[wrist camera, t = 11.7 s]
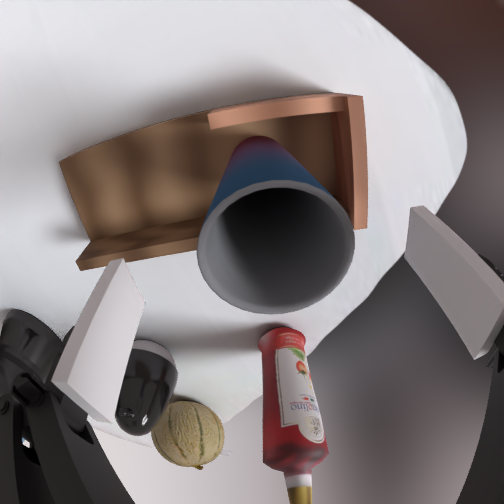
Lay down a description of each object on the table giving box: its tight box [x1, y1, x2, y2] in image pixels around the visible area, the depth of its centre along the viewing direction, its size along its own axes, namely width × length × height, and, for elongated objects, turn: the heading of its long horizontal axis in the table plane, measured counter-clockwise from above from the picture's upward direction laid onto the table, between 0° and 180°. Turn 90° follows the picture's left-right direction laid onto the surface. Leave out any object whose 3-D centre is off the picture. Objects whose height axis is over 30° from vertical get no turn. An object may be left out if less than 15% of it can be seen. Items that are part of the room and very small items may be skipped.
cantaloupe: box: [151, 401, 224, 470], centre depth 46 cm, size 15×15×15 cm
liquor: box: [258, 327, 329, 504], centre depth 29 cm, size 7×7×28 cm
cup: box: [197, 136, 355, 314], centre depth 18 cm, size 7×7×15 cm
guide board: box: [59, 93, 368, 271], centre depth 24 cm, size 28×11×7 cm, turn 100°
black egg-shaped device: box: [114, 340, 178, 436], centre depth 35 cm, size 10×10×15 cm
